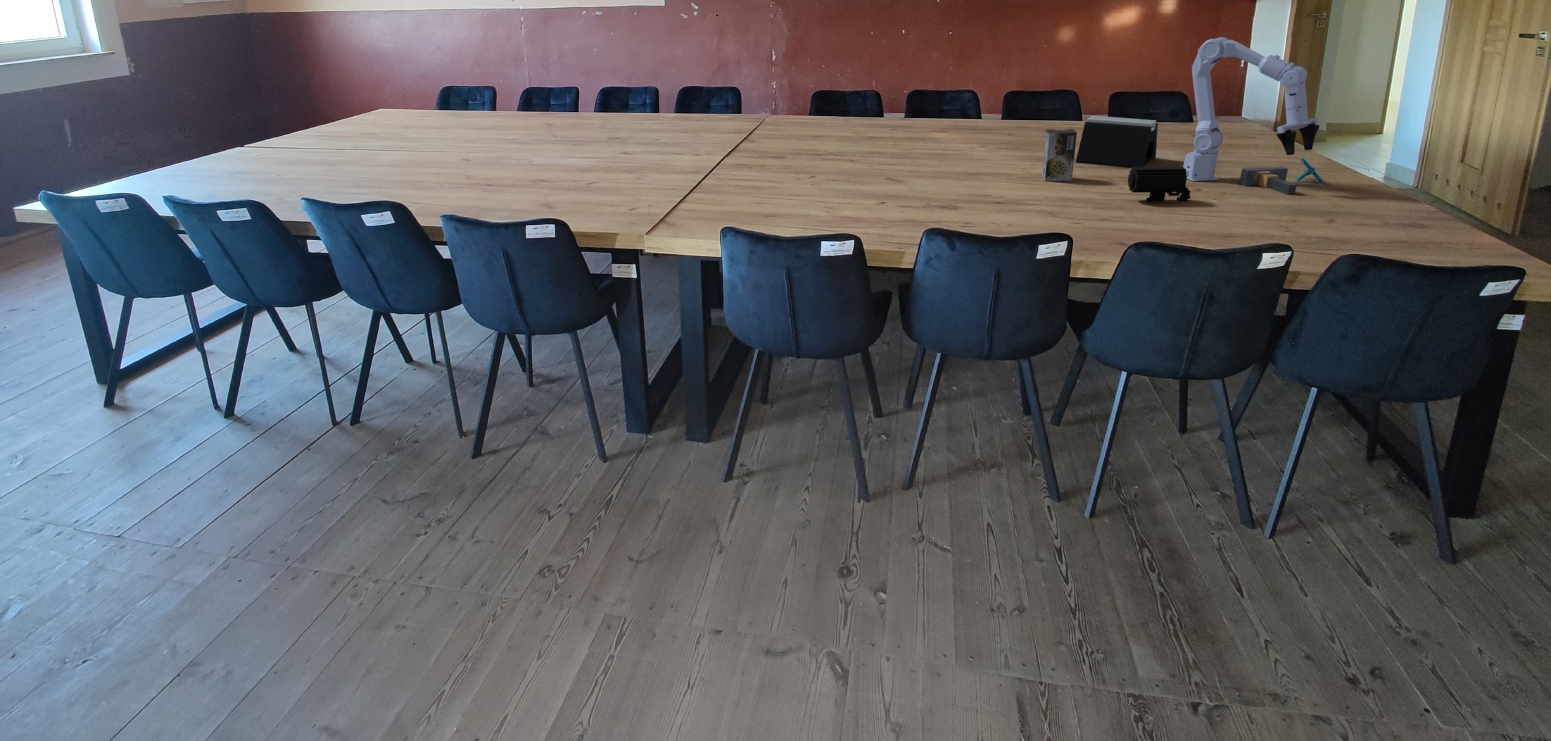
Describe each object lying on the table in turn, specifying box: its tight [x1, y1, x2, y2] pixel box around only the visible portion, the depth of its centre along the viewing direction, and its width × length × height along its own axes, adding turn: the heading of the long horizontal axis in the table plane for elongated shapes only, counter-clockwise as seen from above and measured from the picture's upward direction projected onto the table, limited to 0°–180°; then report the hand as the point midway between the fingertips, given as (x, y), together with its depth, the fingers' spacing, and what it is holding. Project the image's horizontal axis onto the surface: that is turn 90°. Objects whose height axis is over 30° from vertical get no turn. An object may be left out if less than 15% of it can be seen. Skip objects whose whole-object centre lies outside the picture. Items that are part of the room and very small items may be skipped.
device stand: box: [1075, 115, 1159, 169], centre depth 329 cm, size 22×22×15 cm
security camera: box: [1127, 165, 1191, 203], centre depth 275 cm, size 7×18×10 cm, turn 89°
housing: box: [1238, 166, 1289, 187], centre depth 294 cm, size 14×3×5 cm, turn 98°
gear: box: [1296, 157, 1324, 184], centre depth 297 cm, size 11×6×10 cm
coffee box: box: [1041, 128, 1078, 182], centre depth 303 cm, size 9×6×16 cm
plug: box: [1256, 172, 1297, 196], centre depth 288 cm, size 15×4×4 cm, turn 8°
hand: (1299, 152), depth 282 cm, fingers open, 7 cm apart
